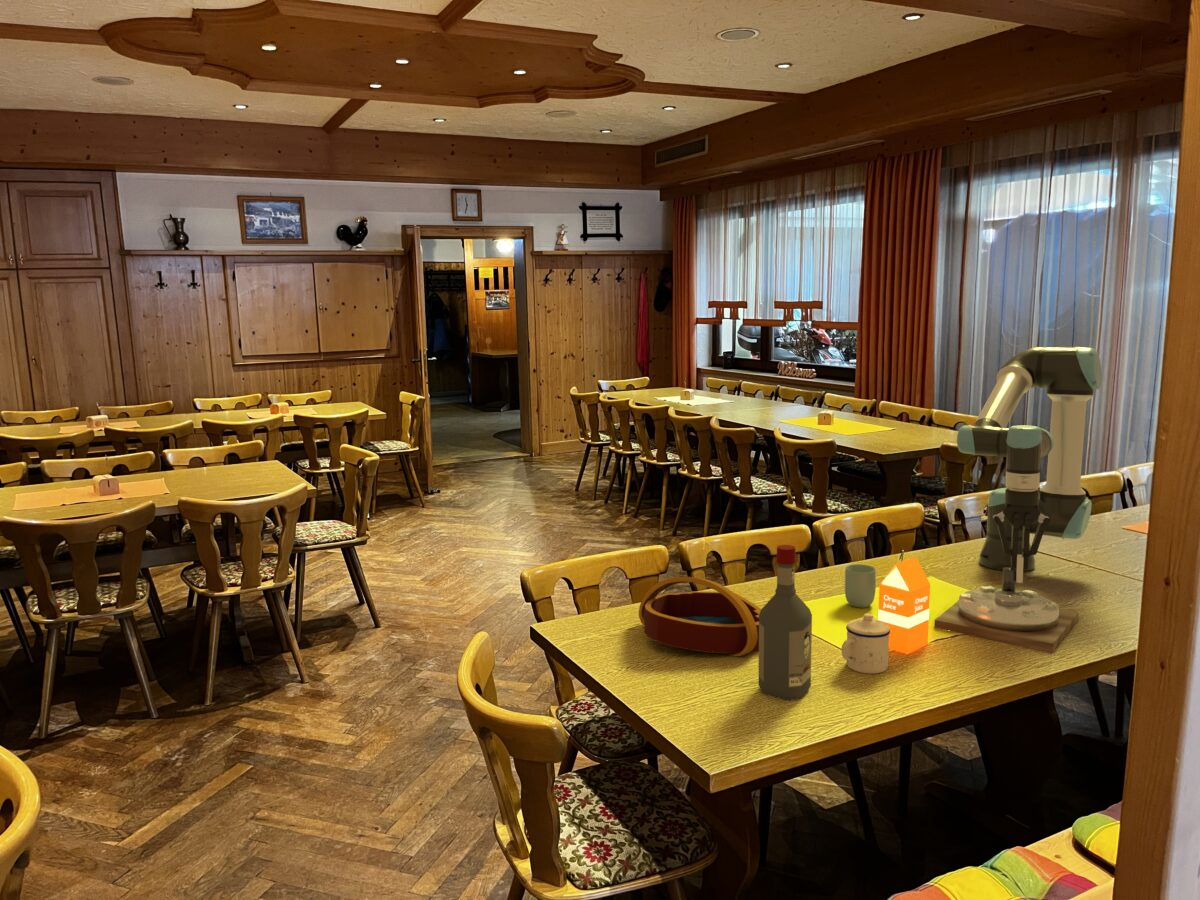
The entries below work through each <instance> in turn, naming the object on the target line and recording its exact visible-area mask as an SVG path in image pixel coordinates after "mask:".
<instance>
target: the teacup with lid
mask: <svg viewBox="0 0 1200 900" xmlns="http://www.w3.org/2000/svg"><path fill="white" fill-rule="evenodd" d="M845 629H846V635H847V636H846V640H844V641H843V642H842V644H841V649H840V650H841V655H842V658H843V659H844V660H845V661H846V666H847V667H848V668H850V669H851V670H852V671H855V672H857V673H862V674H869V675H870V674H871V675H872V674H882V673H884V672H886V671H887V670H888V668H889V653H890V651H889V633H890V628H889V626H888V625H887V624H885V623H884V622H881V621H878V618H874V615H873V614H872V613H864V614H863V617H861V618H860V617H859V618H857V619H853V620H850V621H849V622H848V623H847V624H846V627H845Z"/></svg>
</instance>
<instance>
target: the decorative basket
mask: <svg viewBox="0 0 1200 900" xmlns="http://www.w3.org/2000/svg"><path fill="white" fill-rule="evenodd" d="M683 583H695V584H698V585H702V586H705V587H708V588H710V589H712V590H713V591H693V590H692V591H689V592H688V591H687V592H685V591H684V592H683V591H682V592H676V593H675V592H674V593H673V592H670V593H669V592H666V593H663V594H661V593H662V592H663V591H664V590H666V589H667V588H670V587H671V586H674V585H677V584H683ZM659 594H660V595H659ZM761 609H762V608H761V607H759V606H758V605H755V603H753V602H752V601H750V600H749V599H746V598H745V597H743V596H741V595H739V594H738V593H736V592H733V591H732V590H731V589H730V588H727V587H726V586H724V585H722V584H720V583H718V582H715V581H714V580H713V581H712V580H710V579H706V578H702V577H701V578H699V577H694V576H693V577H692V576H677V577H669V578H666V579H663V580H661V581H659V582H657V583H655V584H654V585H653V586H651V587H650V588H649V589H648V590H647V592H646V593H645V594H644V596H643V598H642V599H641V602H640V604H639V608H638V617H639V621H640V623H641V625H643V629H644V630H643V631H644V632H643V633H644V634H645V636H646V637H647V638H649V639H651V640H653V641H655V642H657V643H660V644H664V645H667V646H669V647H675V648H680V649H685V650H691V651H696V652H703V653H704V652H705V653H712V654H713V653H714V654H715V653H716V654H728V655H729V656H733V657H741V656H744V655H746V654H749V653H752V652H757V651H758V652H759V614H760V611H761Z"/></svg>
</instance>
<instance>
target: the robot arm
mask: <svg viewBox="0 0 1200 900" xmlns="http://www.w3.org/2000/svg"><path fill="white" fill-rule="evenodd" d="M1101 363H1102V362H1101V359H1100V354H1099V353H1098V351H1097V350H1096V349H1095V348H1093V347H1084V346H1082V347H1081V346H1071V347H1070V346H1036V347H1030V348H1027V349H1025V350H1023V351H1021V352H1020V351H1019V352H1018V353H1016V354H1015V355H1013V356H1012V357H1011V358H1009V359H1008V360H1007V361H1006V362H1004V364H1003V365H1002V366H1001V367H1000V368H999V370H998V372H997V374H996V378H995V379H996V384H995V385H994V387H993V388H992V391H991V392H990V395H989V396H988V398H987V400H986V402H985V404H984V406H983V407H982V409H981V411H980V413H979V415H978V416H977V418H976V420H975V421H974V423H973V425H972V424H968V425H963V426H960V428H959V429H958V432H957V437H956V446H957V449H958V451H959V452H960V453H962V454H968V455H973V456H987V457H988V456H991V457H1003V458H1006V469H1005V487H1001V488H995V489H994V490H992V491H991V492H990V493H989V494H988V501H987V502H988V503H987V517H986V518H987V522H986V538H985V540H984V543H983V545H982V547H981V550H980V553H979V555H978V556H979V557H978V558H979V559H978V563H979V564H980V565H982V566H983V567H985V568H989V569H992V570H998V571H1003V568H1004V567H1012V569H1016V583H1018V584H1023V581H1024V572H1027V571H1032V570H1034V569H1035V568H1036V558H1035V556H1036V555H1037V554H1038V551H1039V547H1040V545H1041V544H1040V543H1041V541H1042V538H1043V536H1046V537H1047V536H1048V537H1053V538H1060V539H1063V540H1064V539H1069V540H1071V539H1072V540H1077V539H1081V538H1082V537H1083V536H1084V534H1085V532H1086V530H1087V528H1088V525H1089V522H1090V518H1091V514H1092V504H1093V502H1092V500H1091V499H1090V498H1086V495H1087V492H1086V491H1085V490H1084V489H1083V488H1082V487H1081V481H1082V479H1081V477H1082V468H1083V454H1084V452H1083V451H1084V439H1085V430H1086V429H1085V428H1086V427H1085V426H1086V412H1087V402H1088V401H1089V400H1091V398H1093V397H1094V393H1095V392H1094V391H1098V390H1100V388H1101V385H1102V380H1103V377H1102V376H1103V375H1102V373H1103V372H1102V364H1101ZM1032 388H1039V389H1042V388H1043V389H1046V395H1047V397H1048V398H1049V399H1050V400H1051V410H1050V411H1051V413H1050V415H1051V416H1050V427H1049V431H1048V430H1047V429H1045V428H1043V427H1039V426H1036V425H1030V424H1029V425H1025V424H1023V425H1019V424H1018V425H1012V426H1010V427H1007V426H1008V424H1009V422H1010V420H1011V418H1012V416H1013V414H1014V412H1015V410H1016V409H1017V407H1018V405H1019V403H1020V401H1021V399H1022V397H1023V395H1024V394H1026V393H1027V392H1028V391H1030V390H1031V389H1032ZM1045 457H1048V458H1047V467H1046V468H1047V470H1046V483H1045V485H1043V486H1041V488H1040V482H1041V481H1040V478H1041V477H1040V476H1041V473H1040V472H1041V459H1043V458H1045ZM1038 489H1039V490H1038ZM1031 535H1034V537H1033V539H1032V542H1031V541H1030V540H1031Z"/></svg>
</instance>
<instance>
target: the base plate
mask: <svg viewBox="0 0 1200 900" xmlns="http://www.w3.org/2000/svg"><path fill="white" fill-rule="evenodd" d="M1079 617H1080V612H1079V611H1075V610H1071V609H1065V608H1061V607H1059V621H1058V624H1057V625H1056V626H1054V627H1052V628H1049V629H1044V630H1036V631H1016V630H1006V629H999V628H994V627H989V626H985V625H982V624H978V623H976V622H973V621H971V620H969V619H967V618H965V617H963V616H962V615H961V614H960V613H959V600H957V601H956V602H955V603H954V604H952V605H951V606H950V607H948V608H947V609H946V610H945V611H943V612H942V613H941V614H940V615H938V616H937V617H936V618H935V619H934V626H933V627H934V629H938V628H939V629H938V630H943V629H944V630H945V631H948V630H950V631H949V632H953V633H958V634H962V635H963V634H964V635H968V636H973V637H977V638H982V639H986V640H992V641H995V642H996V641H997V642H1002V643H1007V644H1010V645H1016V646H1020V647H1025V648H1030V649H1034V650H1041V651H1045V652H1048V653H1054V652H1055V650H1056V649H1057V648H1058V646H1060V644H1061V643H1062V641H1063V640H1064V639H1065V637H1066V636H1067V635H1068V634H1069V633H1070V631H1071V630H1072V628H1073V627H1074V626H1075V625H1076V623H1077V622H1078V621H1079V620H1080V619H1079Z"/></svg>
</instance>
